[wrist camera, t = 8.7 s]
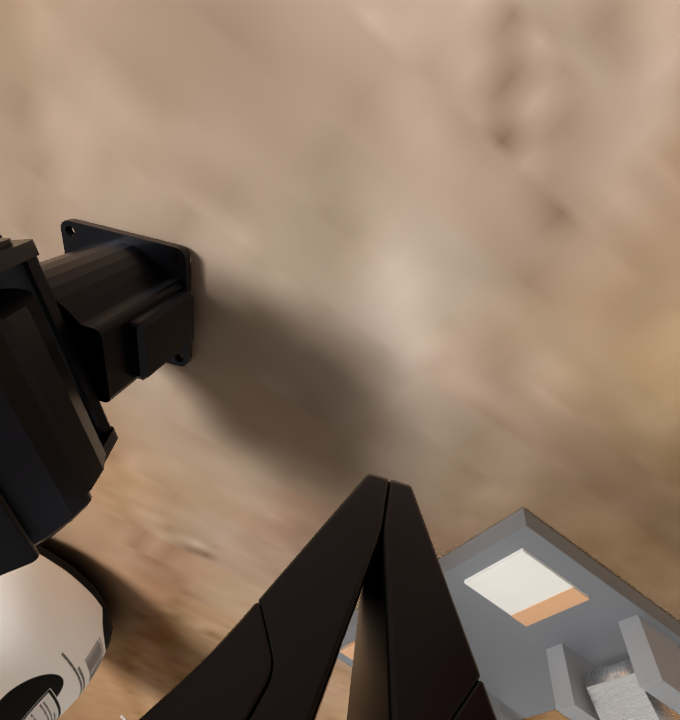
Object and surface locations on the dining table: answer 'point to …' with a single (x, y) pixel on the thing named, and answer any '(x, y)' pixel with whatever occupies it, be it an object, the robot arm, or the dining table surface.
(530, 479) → the dining table surface
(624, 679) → the lever
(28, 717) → the milk container
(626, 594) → the switch box
